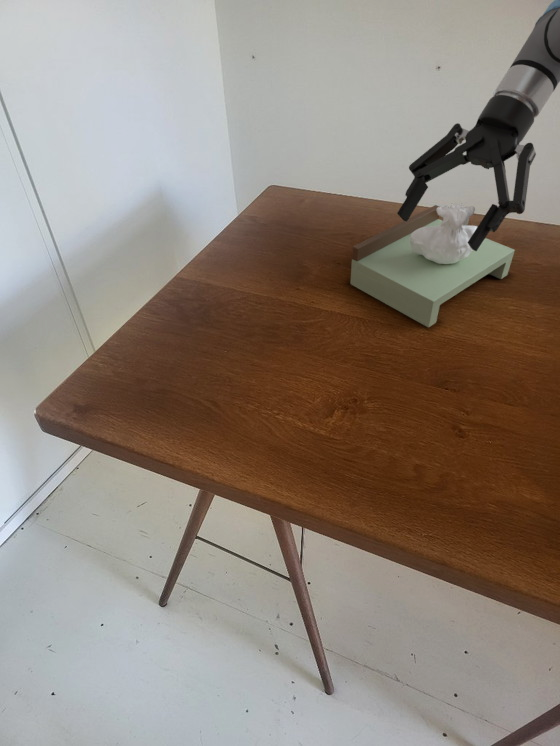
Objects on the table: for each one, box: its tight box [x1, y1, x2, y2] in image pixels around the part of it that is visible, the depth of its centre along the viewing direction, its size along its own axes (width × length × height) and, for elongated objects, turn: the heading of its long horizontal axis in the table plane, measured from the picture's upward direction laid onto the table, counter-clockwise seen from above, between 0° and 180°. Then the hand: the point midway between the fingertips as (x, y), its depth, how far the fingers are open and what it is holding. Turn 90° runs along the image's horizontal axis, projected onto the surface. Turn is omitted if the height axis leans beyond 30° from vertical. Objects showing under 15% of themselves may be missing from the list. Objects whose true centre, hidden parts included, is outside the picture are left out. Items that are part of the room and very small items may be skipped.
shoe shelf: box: [350, 204, 516, 328], centre depth 89 cm, size 17×22×7 cm
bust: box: [410, 202, 478, 264], centre depth 83 cm, size 12×8×11 cm
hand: (435, 231), depth 82 cm, fingers open, 13 cm apart
